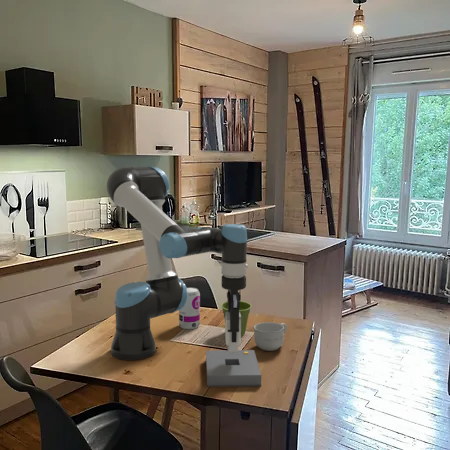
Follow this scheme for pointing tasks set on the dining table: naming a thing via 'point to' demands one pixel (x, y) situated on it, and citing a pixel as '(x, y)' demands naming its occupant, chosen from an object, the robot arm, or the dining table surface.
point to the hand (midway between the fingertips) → (232, 347)
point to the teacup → (269, 335)
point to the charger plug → (227, 327)
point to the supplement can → (190, 310)
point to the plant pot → (243, 311)
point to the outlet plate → (232, 369)
